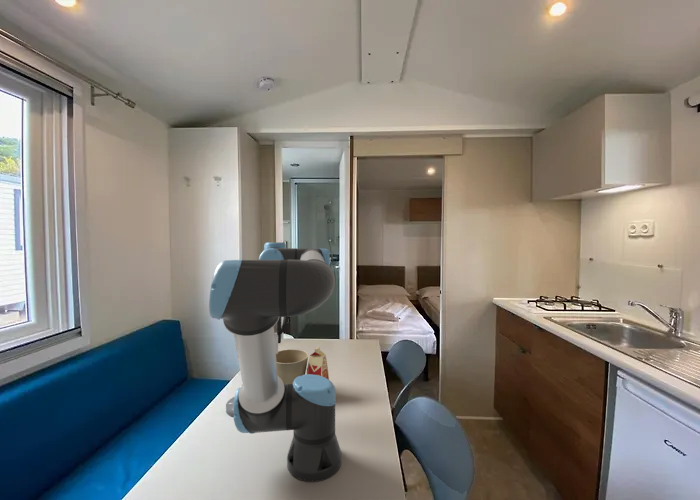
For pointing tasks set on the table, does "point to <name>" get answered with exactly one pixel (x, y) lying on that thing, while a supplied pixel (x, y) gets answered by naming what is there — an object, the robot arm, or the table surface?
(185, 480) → the table surface
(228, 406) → the dial base
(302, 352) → the plant pot
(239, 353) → the robot arm
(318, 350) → the milk carton
